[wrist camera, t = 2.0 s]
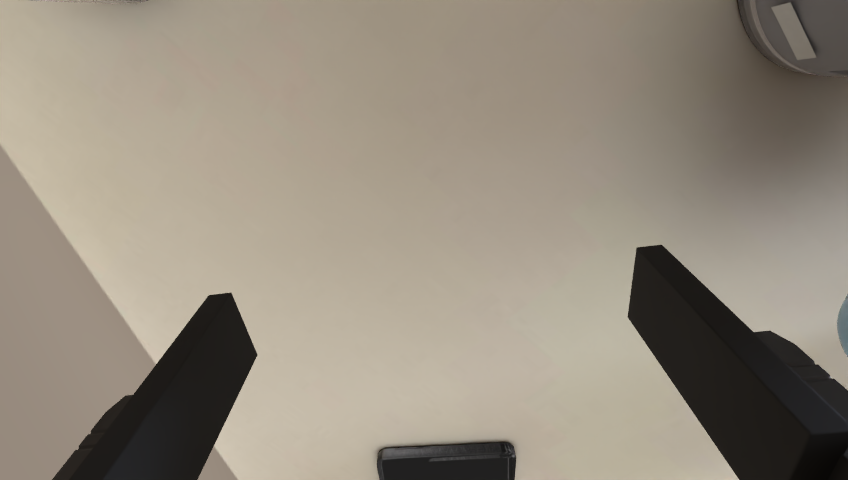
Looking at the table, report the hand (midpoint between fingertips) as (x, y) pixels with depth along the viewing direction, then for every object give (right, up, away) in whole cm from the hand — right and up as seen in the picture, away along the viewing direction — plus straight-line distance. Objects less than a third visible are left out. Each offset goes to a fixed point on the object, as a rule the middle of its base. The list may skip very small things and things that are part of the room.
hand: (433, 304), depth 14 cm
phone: (+2, -23, +34) cm, 41 cm away
